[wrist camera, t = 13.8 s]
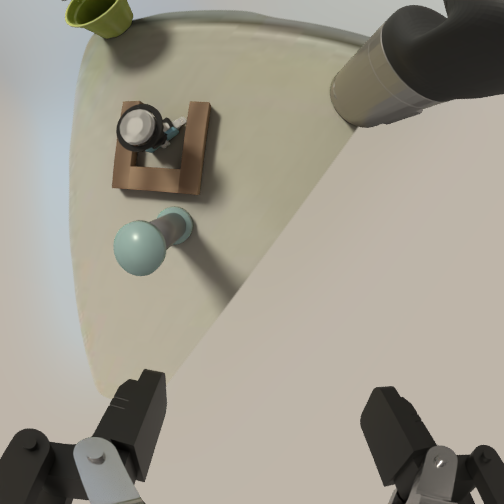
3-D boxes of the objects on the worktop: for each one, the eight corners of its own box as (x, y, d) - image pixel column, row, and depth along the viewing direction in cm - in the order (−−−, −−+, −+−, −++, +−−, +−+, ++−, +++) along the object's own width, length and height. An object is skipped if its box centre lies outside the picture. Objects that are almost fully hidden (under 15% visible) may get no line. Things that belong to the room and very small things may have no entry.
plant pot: (82, 33, 30) (55, 13, 22) (124, -5, 28) (104, -31, 20) (108, 57, 32) (81, 36, 23) (154, 16, 30) (136, -12, 22)
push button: (177, 106, 34) (154, 84, 25) (197, 136, 35) (179, 121, 26) (137, 134, 35) (104, 123, 25) (156, 164, 36) (127, 161, 26)
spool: (194, 208, 38) (164, 225, 24) (191, 245, 39) (162, 279, 25) (159, 204, 38) (114, 219, 24) (156, 240, 39) (113, 271, 25)
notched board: (211, 106, 34) (209, 102, 32) (199, 193, 37) (197, 194, 35) (128, 104, 34) (123, 101, 32) (118, 187, 37) (112, 187, 35)
